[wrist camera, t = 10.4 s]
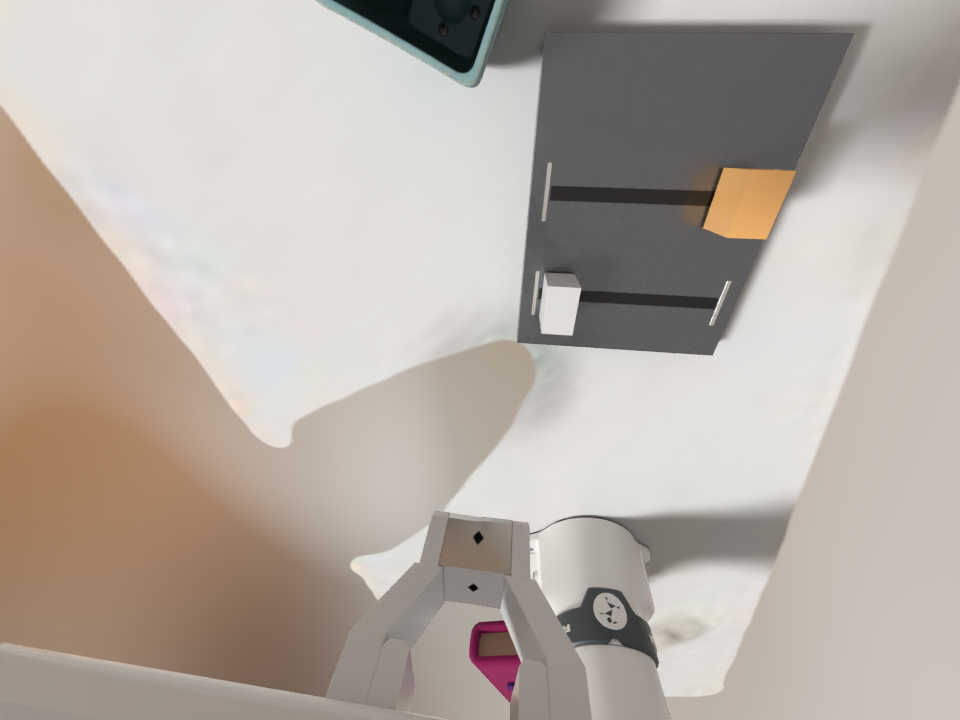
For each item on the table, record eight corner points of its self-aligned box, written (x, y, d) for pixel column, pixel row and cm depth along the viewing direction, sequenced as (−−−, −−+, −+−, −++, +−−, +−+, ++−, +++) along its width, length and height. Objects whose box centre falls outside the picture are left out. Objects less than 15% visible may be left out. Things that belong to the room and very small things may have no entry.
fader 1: (567, 317, 31) (572, 335, 28) (539, 316, 31) (541, 333, 28) (574, 273, 28) (581, 288, 26) (544, 272, 29) (547, 286, 26)
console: (702, 345, 33) (712, 355, 31) (517, 333, 34) (517, 342, 33) (827, 42, 22) (854, 32, 20) (543, 41, 23) (545, 32, 21)
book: (516, 675, 82) (516, 720, 75) (471, 621, 69) (467, 669, 63) (605, 673, 76) (613, 721, 70) (574, 614, 64) (581, 666, 57)
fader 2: (737, 229, 26) (766, 239, 23) (702, 228, 26) (727, 237, 23) (761, 168, 24) (796, 170, 21) (723, 167, 24) (753, 169, 21)
